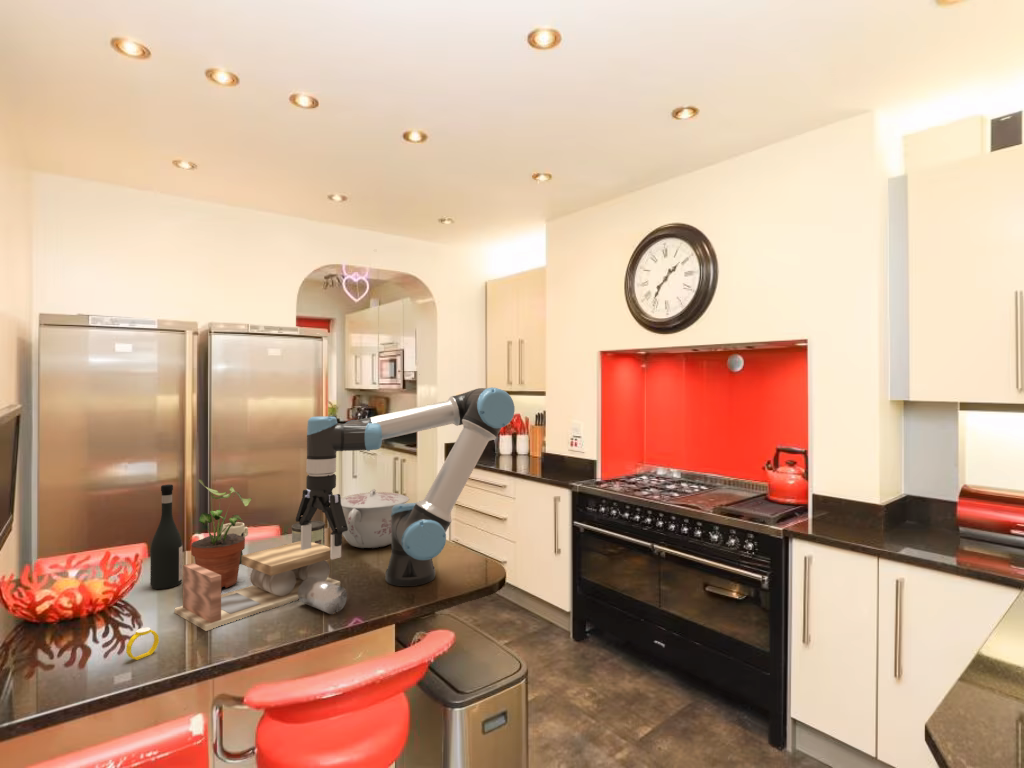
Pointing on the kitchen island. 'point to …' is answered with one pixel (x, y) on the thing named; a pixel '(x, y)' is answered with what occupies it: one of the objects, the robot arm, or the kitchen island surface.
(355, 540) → the chamber pot
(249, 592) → the roller bed
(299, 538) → the coffee can
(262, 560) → the oak slab
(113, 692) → the kitchen island surface
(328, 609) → the loose roller
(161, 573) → the wine bottle
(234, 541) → the potted plant
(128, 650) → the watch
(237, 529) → the character mug
